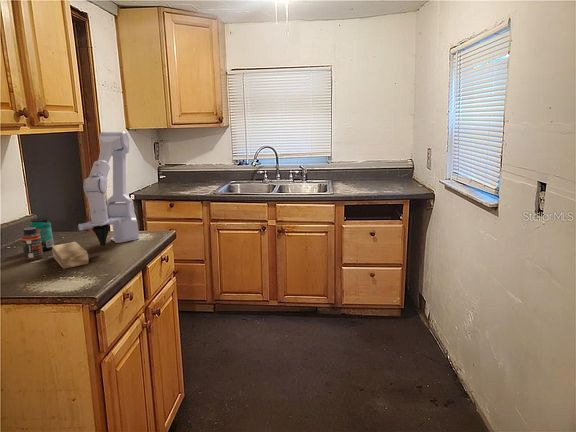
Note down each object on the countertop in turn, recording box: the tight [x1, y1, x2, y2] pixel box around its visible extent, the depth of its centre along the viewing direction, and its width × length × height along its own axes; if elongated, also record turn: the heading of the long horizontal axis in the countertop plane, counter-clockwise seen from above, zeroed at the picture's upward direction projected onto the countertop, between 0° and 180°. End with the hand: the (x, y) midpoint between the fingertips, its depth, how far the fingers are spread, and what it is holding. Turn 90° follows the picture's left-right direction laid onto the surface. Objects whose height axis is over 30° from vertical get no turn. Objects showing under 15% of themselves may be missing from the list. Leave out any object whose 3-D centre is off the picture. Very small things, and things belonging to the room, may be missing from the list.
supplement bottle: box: [21, 226, 44, 261], centre depth 158 cm, size 6×6×11 cm
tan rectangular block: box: [51, 241, 89, 270], centre depth 155 cm, size 8×16×4 cm, turn 39°
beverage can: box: [29, 217, 55, 252], centre depth 168 cm, size 7×7×12 cm
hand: (102, 245), depth 162 cm, fingers closed
